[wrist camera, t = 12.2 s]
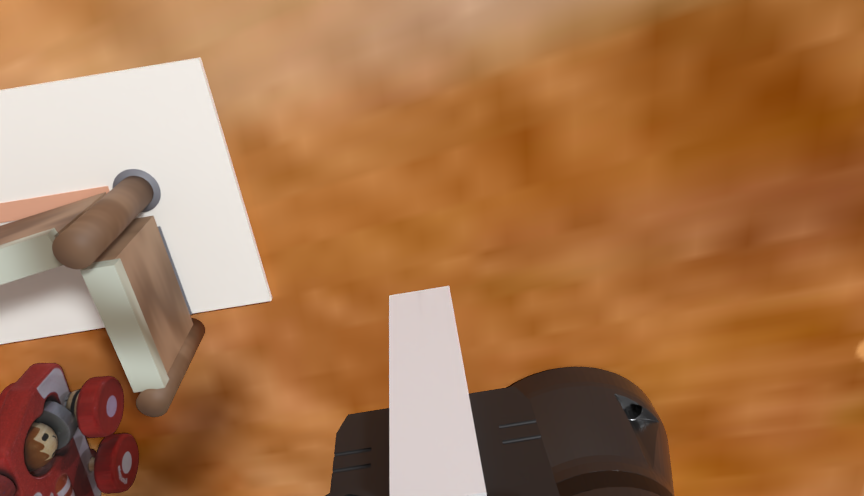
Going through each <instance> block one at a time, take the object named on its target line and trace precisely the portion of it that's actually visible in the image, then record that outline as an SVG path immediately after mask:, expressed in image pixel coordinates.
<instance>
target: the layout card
mask: <svg viewBox="0 0 864 496" xmlns="http://www.w3.org/2000/svg"><path fill="white" fill-rule="evenodd" d="M128 176H139V177H142V178H144V179H145V180H147V181H148V182H149V183H150V185H151V186H152V188H153V192H154V195H153V199H152V201H151V202H150V203H149V204H148V205H147V206H146V207H145V208H144V209H143V210H142V211H141V213H140V214H139V215H138V216H137V217H136V218H141V217H147V216H154V219H155V221H156V224H157V227H158V229H159V232H160V235H161V238H162V240H163V243H164V246H165V248H166V251H167V254H168V257H169V259H170V262H171V265H172V268H173V270H174V273H175V276H176V278H177V281H178V284H179V287H180V289H181V292H182V295H183V297H184V300H185V303H186V306H187V308H188V311H189V314H190V315H191V314H193V313H199V312H205V311H211V310H218V309H224V308H230V307H236V306H243V305H249V304H255V303H261V302H268V301H271V300H272V295H271V292H270V289H269V285H268V282H267V279H266V275H265V272H264V268H263V265H262V262H261V258H260V255H259V252H258V248H257V245H256V242H255V238H254V235H253V231H252V228H251V225H250V221H249V218H248V215H247V211H246V208H245V205H244V201H243V198H242V194H241V191H240V188H239V184H238V181H237V178H236V174H235V171H234V168H233V164H232V161H231V157H230V154H229V151H228V147H227V144H226V141H225V137H224V134H223V131H222V127H221V124H220V120H219V117H218V114H217V110H216V107H215V104H214V100H213V97H212V94H211V90H210V87H209V83H208V80H207V77H206V73H205V70H204V67H203V63H202V60H201V57H200V58H193V59H187V60H181V61H175V62H169V63H163V64H157V65H150V66H144V67H138V68H132V69H126V70H120V71H114V72H107V73H101V74H95V75H89V76H83V77H77V78H71V79H64V80H58V81H52V82H46V83H40V84H34V85H27V86H21V87H15V88H9V89H3V90H0V226H1V225H5V224H8V223H11V222H14V221H17V220H20V219H23V218H26V217H29V216H33V215H36V214H39V213H42V212H45V211H48V210H51V209H54V208H57V207H60V206H64V205H67V204H70V203H73V202H76V201H79V200H82V199H85V198H88V197H91V196H95V195H98V194H101V193H104V192H106V194H107V193H108V192H109V191H110V190H112V189H113V188H114V187H115V186H116V185H117V184H119V183H120V182H121V181H122V180H123V179H125V178H126V177H128ZM80 270H81V269H71V268H68V267H66V266H64V265H62V266H59V267H56V268H53V269H49V270H46V271H43V272H40V273H37V274H34V275H30V276H27V277H24V278H21V279H18V280H15V281H11V282H8V283H5V284H2V285H0V344H5V343H11V342H18V341H24V340H30V339H36V338H43V337H49V336H55V335H61V334H68V333H74V332H80V331H86V330H93V329H99V328H105V326H104V324H103V321H102V319H101V317H100V315H99V312H98V310H97V308H96V306H95V303H94V301H93V299H92V296H91V294H90V292H89V290H88V287H87V285H86V283H85V281H84V278H83V276H82V274H81V271H80Z"/></svg>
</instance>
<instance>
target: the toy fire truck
mask: <svg viewBox="0 0 864 496" xmlns="http://www.w3.org/2000/svg"><path fill="white" fill-rule="evenodd" d="M123 409H124V395H123V390H122V387H121V385H120V383H119V381H118V380H117V379H116V378H115V377H111V376H103V377H93V378H90V379H89V380H88V381H86V383H85V384H84V385H83V386H82V388H81V389H79V390H75V391H73V392H70V391H69V388H68V385H67V382H66V379H65V376H64V373H63V370H62V368H61V367H60V365H58V364H56V363H37V364H33V365H32V366H30V367H29V369H28V370H27V371H26V372H25V373H24V374H23V375H22V376H21V378H20V379H19V380H18V381H17V382H15V383H12V384H10V385H9V386H7V387H6V388H5V389H4V390H3V391H2V393H1V394H0V496H101V492H103V493H107V494H110V493H121V492H124V491H126V490H128V489H129V488H130V487H131V485H132V484H133V482H134V480H135V477H136V474H137V470H138V463H139V453H138V447H137V443H136V441H135V439H134V437H133V436H132V435H130V434H127V433H122V434H113V433H114V432H115V431H116V429H117V428H118V426H119V424H120V422H121V419H122V415H123ZM86 437H88V438H96V437H105V438H104V439H103V440H102V441H101V443H100V445H99V447H98V450H97V453H96V452H95V451H94V450H93V449H90V448H89V445H88V442H87V439H86Z"/></svg>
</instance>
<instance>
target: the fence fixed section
mask: <svg viewBox="0 0 864 496" xmlns="http://www.w3.org/2000/svg"><path fill="white" fill-rule="evenodd" d="M153 195H154V192H153V188H152V186H151V185H150V183H149V182H148V181H147V180H145V179H144V178H142V177H139V176H128V177H126V178H125V179H123V180H122V181H121V182H120V183H119V184H117V185H116V186H115V187H114V188H113V189H112V190H110V191H109V192H108V193H107V194H106V195H105V196H104V197H102V198H101V199H100V200H99V201H98V202H97V203H95V204H94V205H93V206H92V207H91V208H90V209H88V210H87V211H86V212H85V213H84V214H83V215H81V216H80V217H79V218H78V219H77V220H76V221H75V222H73V223H72V224H71V225H70V226H69V227H68V228H66V229H65V230H64V231H63V232H62V233H61V234H59V235H58V236H57V237H56V238H55V239H54V241H53V244H52V251H53V254H54V256H55V258H56V259H57V260H58V261H59V262H60V263H61V264H63V265H64V266H66V267H68V268H71V269H81V270H80V271H81V274H82V276H83V278H84V281H85V283H86V285H87V287H88V290H89V292H90V294H91V296H92V299H93V301H94V303H95V306H96V308H97V310H98V312H99V315H100V317H101V319H102V321H103V324H104V326H105V328H106V330H107V333H108V335H109V337H110V340H111V342H112V344H113V346H114V349H115V351H116V353H117V355H118V358H119V360H120V362H121V364H122V367H123V369H124V371H125V374H126V376H127V378H128V380H129V383H130V385H131V387H132V389H133V392H134V393H135V392H140V394H139V396H138V398H137V400H136V406H137V408H138V410H139V411H140V412H141V413H143V414H144V415H147V416H150V417H159V416H162V415H164V414H165V413H166V412H167V410H168V408H169V406H170V404H171V402H172V400H173V398H174V396H175V394H176V392H177V390H178V388H179V385H180V383H181V381H182V379H183V377H184V375H185V373H186V371H187V369H188V367H189V365H190V363H191V361H192V358H193V356H194V354H195V352H196V350H197V348H198V346H199V344H200V342H201V340H202V338H203V336H204V333H205V327H204V325H203V324H202V323H201V322H200V321H199V320H197V319H194V318H191V316H190V314H189V311H188V308H187V306H186V303H185V300H184V297H183V295H182V292H181V289H180V287H179V284H178V281H177V278H176V276H175V273H174V270H173V268H172V265H171V262H170V259H169V257H168V254H167V251H166V248H165V246H164V243H163V240H162V238H161V235H160V232H159V229H158V227H157V224H156V221H155V219H154V216H147V217H141V218H136V217H137V216H138V215H139V214H140V213H141V211H142V210H143V209H144V208H145V207H146V206H147V205H148V204H149V203H150V202H151V201H152V199H153Z"/></svg>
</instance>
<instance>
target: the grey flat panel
mask: <svg viewBox="0 0 864 496" xmlns="http://www.w3.org/2000/svg"><path fill="white" fill-rule="evenodd" d="M105 195H106V192H104V193H101V194H98V195H95V196H91V197H88V198H85V199H82V200H79V201H76V202H73V203H70V204H67V205H64V206H60V207H57V208H54V209H51V210H48V211H45V212H42V213H39V214H36V215H33V216H29V217H26V218H23V219H20V220H17V221H14V222H11V223H8V224H5V225H1V226H0V285H2V284H5V283H8V282H11V281H15V280H18V279H21V278H24V277H27V276H30V275H34V274H37V273H40V272H43V271H46V270H49V269H53V268H56V267H59V266H62V265H63V264H61V263H60V262H59V261H58V260H57V259H56V258H55V256H54V254H53V251H52V244H53V241H54V239H55V238H56V237H57V236H58V235H59V234H61V233H62V232H63V231H64V230H65V229H66V228H68V227H69V226H70V225H71V224H72V223H73V222H75V221H76V220H77V219H78V218H79V217H80V216H81V215H83V214H84V213H85V212H86V211H87V210H88V209H90V208H91V207H92V206H93V205H94V204H95V203H97V202H98V201H99V200H100V199H101V198H102V197H104V196H105Z"/></svg>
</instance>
